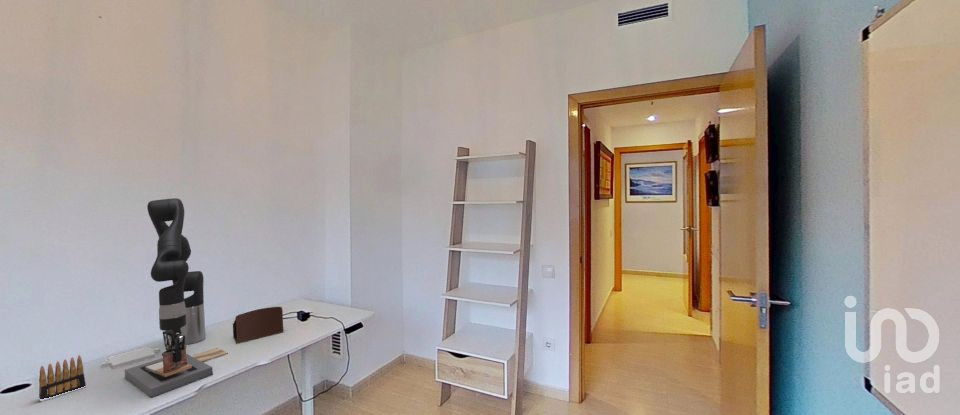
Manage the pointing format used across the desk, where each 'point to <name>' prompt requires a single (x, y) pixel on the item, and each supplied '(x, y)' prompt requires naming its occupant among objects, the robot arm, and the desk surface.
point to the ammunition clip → (65, 384)
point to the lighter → (168, 359)
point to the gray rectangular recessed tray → (160, 384)
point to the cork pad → (209, 354)
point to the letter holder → (258, 324)
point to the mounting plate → (130, 357)
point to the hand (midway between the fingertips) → (175, 360)
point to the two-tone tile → (159, 370)
